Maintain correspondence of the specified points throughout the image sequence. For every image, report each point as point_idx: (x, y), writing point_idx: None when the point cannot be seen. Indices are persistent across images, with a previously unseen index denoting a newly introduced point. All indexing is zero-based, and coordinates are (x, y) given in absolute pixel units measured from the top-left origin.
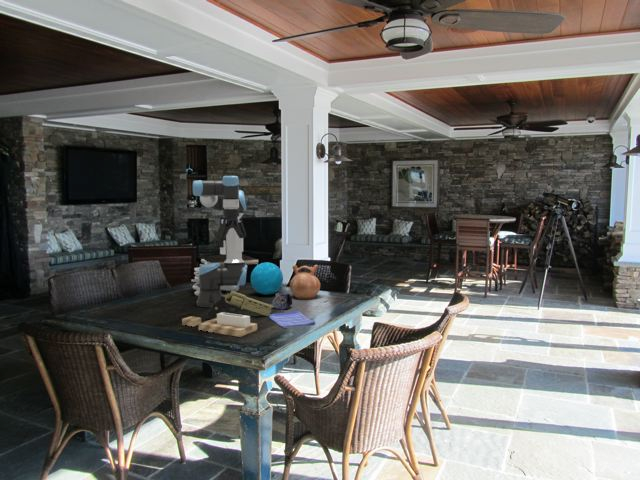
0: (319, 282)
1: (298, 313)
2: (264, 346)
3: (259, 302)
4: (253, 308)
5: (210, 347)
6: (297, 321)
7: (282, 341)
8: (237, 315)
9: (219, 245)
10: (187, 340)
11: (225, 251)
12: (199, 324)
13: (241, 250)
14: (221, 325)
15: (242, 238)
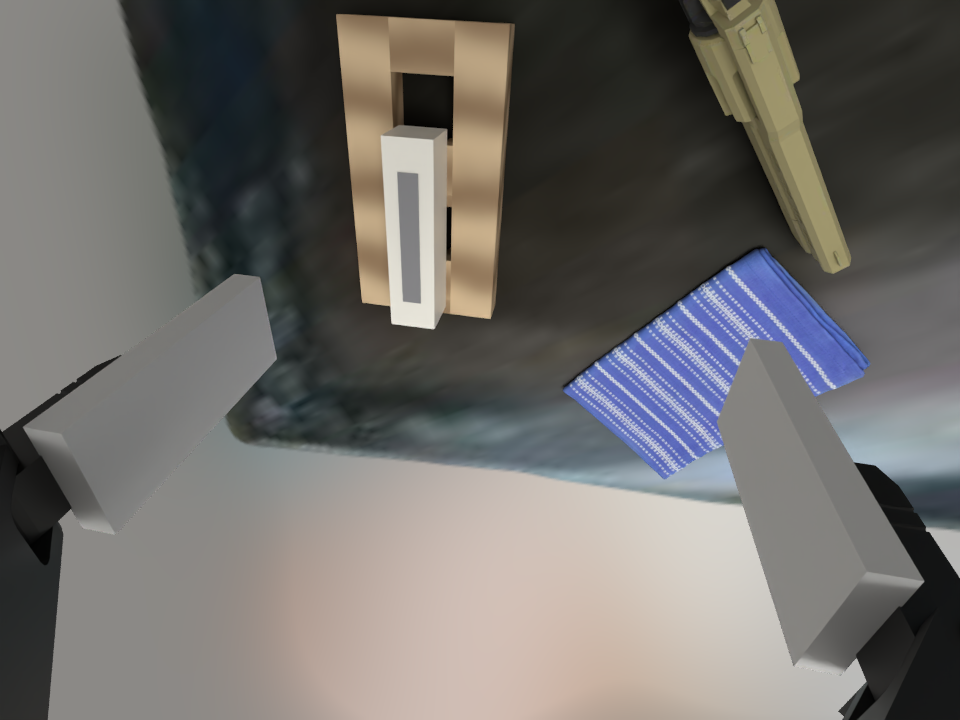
0: None
1: (823, 380)
2: (332, 409)
3: (801, 212)
4: (765, 168)
5: (209, 257)
6: (677, 410)
7: (407, 437)
8: (407, 271)
9: (82, 375)
10: (199, 99)
11: (247, 385)
12: (338, 24)
13: (726, 417)
14: (381, 174)
15: (806, 661)
